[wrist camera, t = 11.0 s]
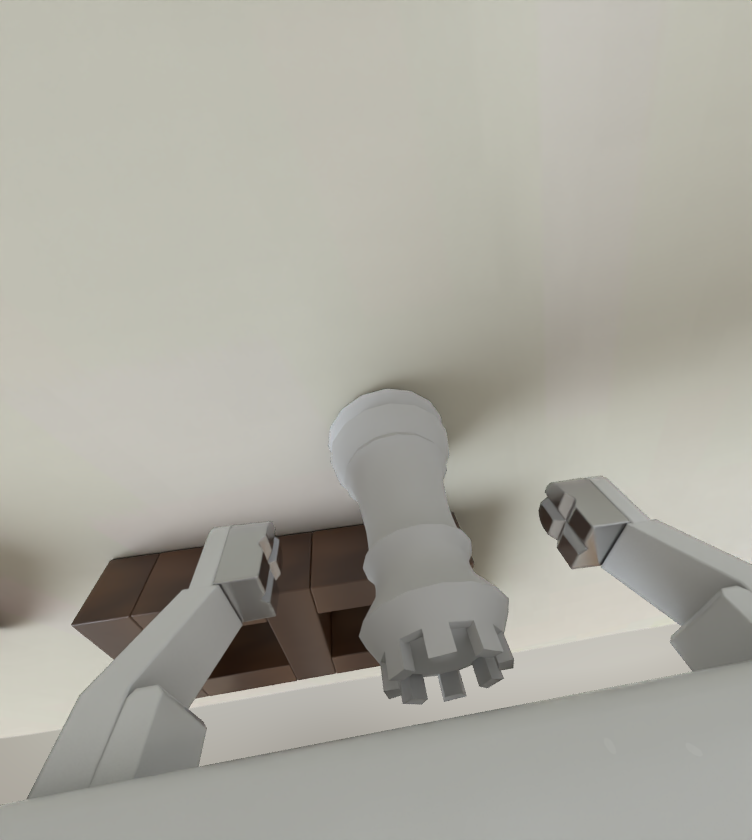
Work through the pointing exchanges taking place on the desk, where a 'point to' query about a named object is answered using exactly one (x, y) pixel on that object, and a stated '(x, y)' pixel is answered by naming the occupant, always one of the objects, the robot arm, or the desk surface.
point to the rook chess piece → (416, 551)
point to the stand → (259, 639)
